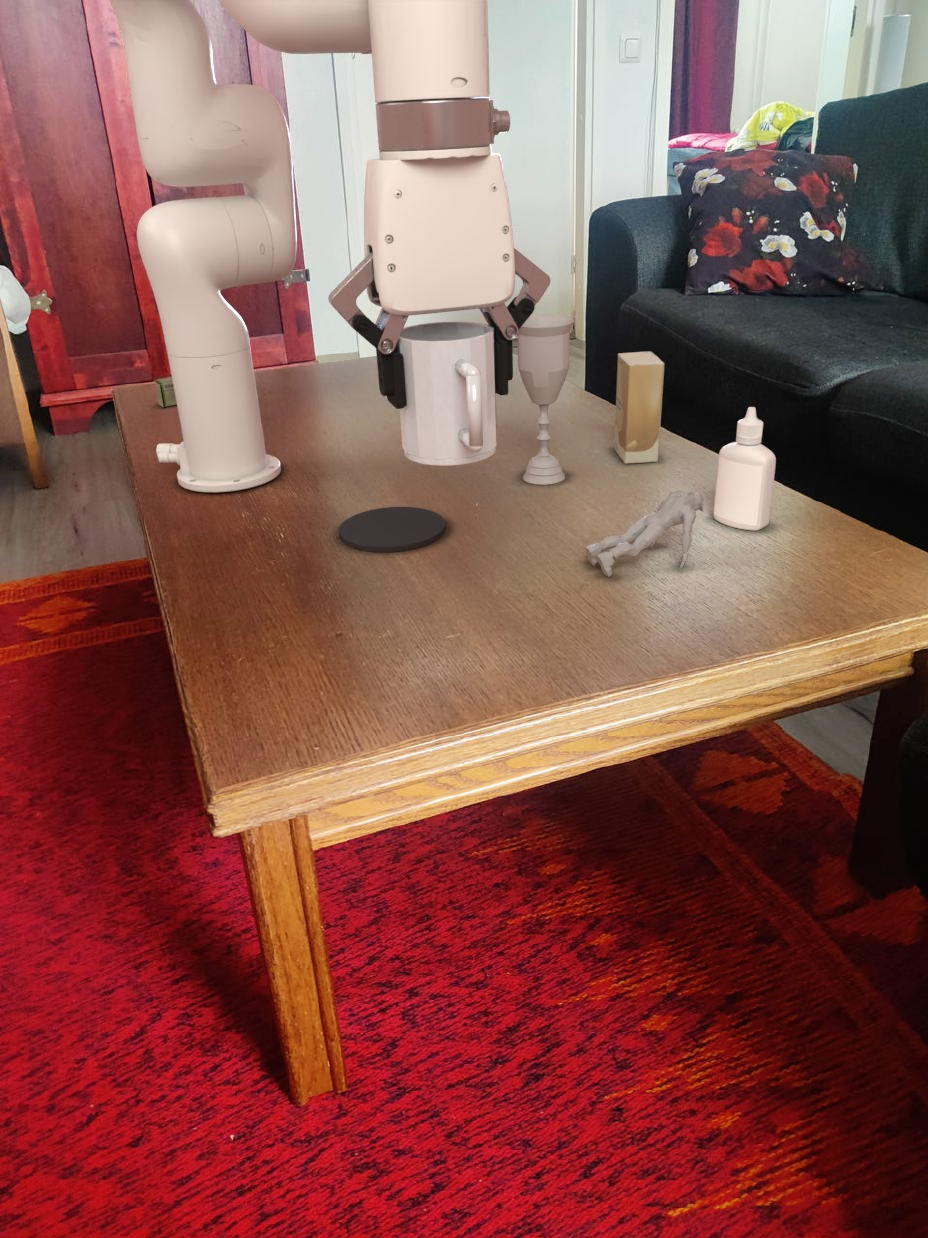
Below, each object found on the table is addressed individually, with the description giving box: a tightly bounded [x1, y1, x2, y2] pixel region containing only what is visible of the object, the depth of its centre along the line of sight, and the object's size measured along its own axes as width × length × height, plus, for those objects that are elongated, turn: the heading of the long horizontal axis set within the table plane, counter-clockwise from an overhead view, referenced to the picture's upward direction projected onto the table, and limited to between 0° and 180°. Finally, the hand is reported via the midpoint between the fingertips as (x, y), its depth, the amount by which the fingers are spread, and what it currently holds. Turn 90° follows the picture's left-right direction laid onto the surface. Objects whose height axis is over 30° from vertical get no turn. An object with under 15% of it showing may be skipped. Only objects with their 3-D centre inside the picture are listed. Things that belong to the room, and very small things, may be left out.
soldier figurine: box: [584, 490, 705, 578], centre depth 89 cm, size 6×5×12 cm
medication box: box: [153, 376, 177, 409], centre depth 152 cm, size 12×3×4 cm, turn 126°
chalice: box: [517, 314, 575, 485], centre depth 109 cm, size 7×7×18 cm
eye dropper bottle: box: [713, 406, 777, 532], centre depth 95 cm, size 4×6×12 cm
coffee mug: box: [397, 321, 498, 467], centre depth 70 cm, size 10×7×9 cm
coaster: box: [338, 506, 447, 553], centre depth 100 cm, size 11×11×1 cm
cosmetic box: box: [613, 351, 665, 465], centre depth 116 cm, size 6×4×12 cm
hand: (447, 396), depth 71 cm, fingers closed on coffee mug, 7 cm apart
